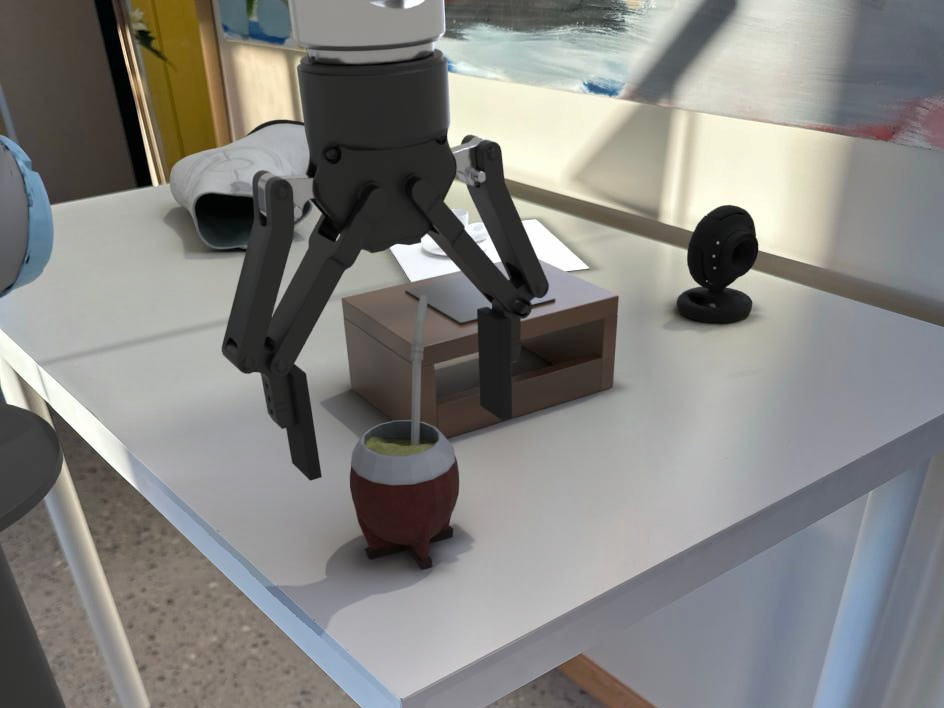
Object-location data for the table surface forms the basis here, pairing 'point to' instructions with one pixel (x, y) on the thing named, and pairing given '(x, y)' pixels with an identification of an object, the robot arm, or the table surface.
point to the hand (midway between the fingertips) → (405, 440)
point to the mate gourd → (405, 477)
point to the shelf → (456, 334)
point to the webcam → (720, 265)
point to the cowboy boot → (237, 180)
